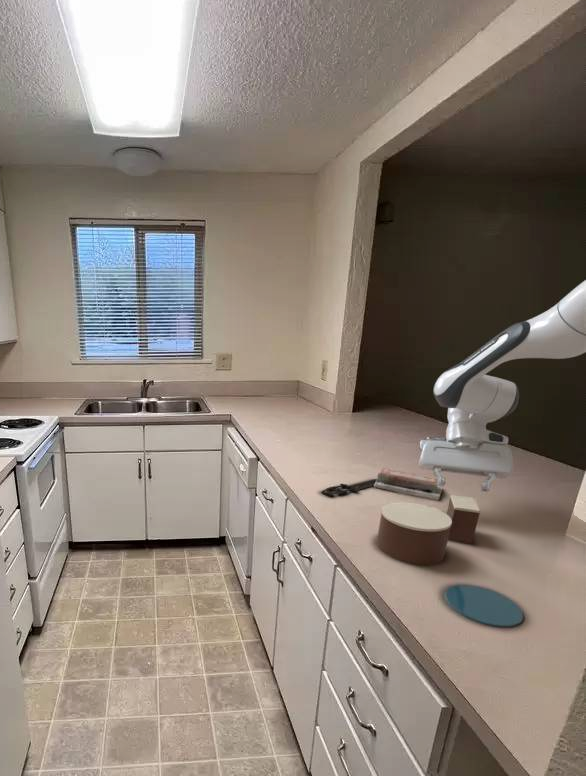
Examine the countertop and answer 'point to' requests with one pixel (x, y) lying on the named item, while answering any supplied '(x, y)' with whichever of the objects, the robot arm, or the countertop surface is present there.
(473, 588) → the plate
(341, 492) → the knife
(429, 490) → the packaged product
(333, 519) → the countertop surface
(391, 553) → the cake
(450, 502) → the cake slice
